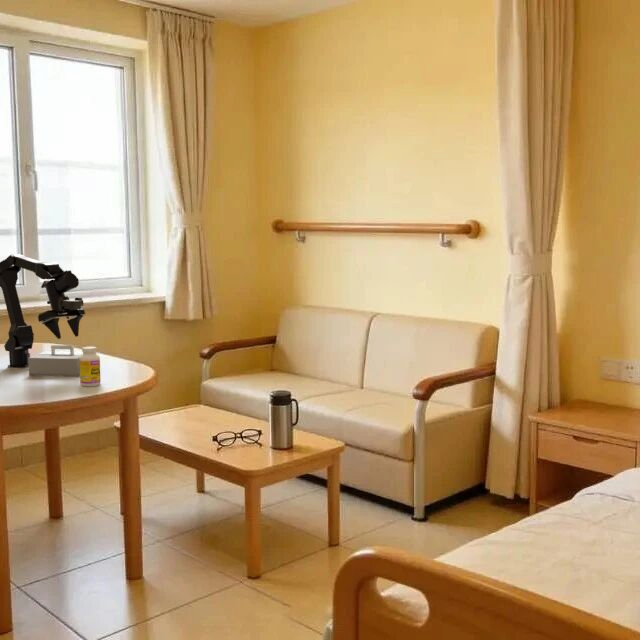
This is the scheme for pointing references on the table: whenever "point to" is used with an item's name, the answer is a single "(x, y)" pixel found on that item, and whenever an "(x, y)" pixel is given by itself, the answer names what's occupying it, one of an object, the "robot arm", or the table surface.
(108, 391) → the table surface
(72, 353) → the rear flap
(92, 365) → the supplement bottle
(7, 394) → the table surface
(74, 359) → the cabinet
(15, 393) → the table surface
